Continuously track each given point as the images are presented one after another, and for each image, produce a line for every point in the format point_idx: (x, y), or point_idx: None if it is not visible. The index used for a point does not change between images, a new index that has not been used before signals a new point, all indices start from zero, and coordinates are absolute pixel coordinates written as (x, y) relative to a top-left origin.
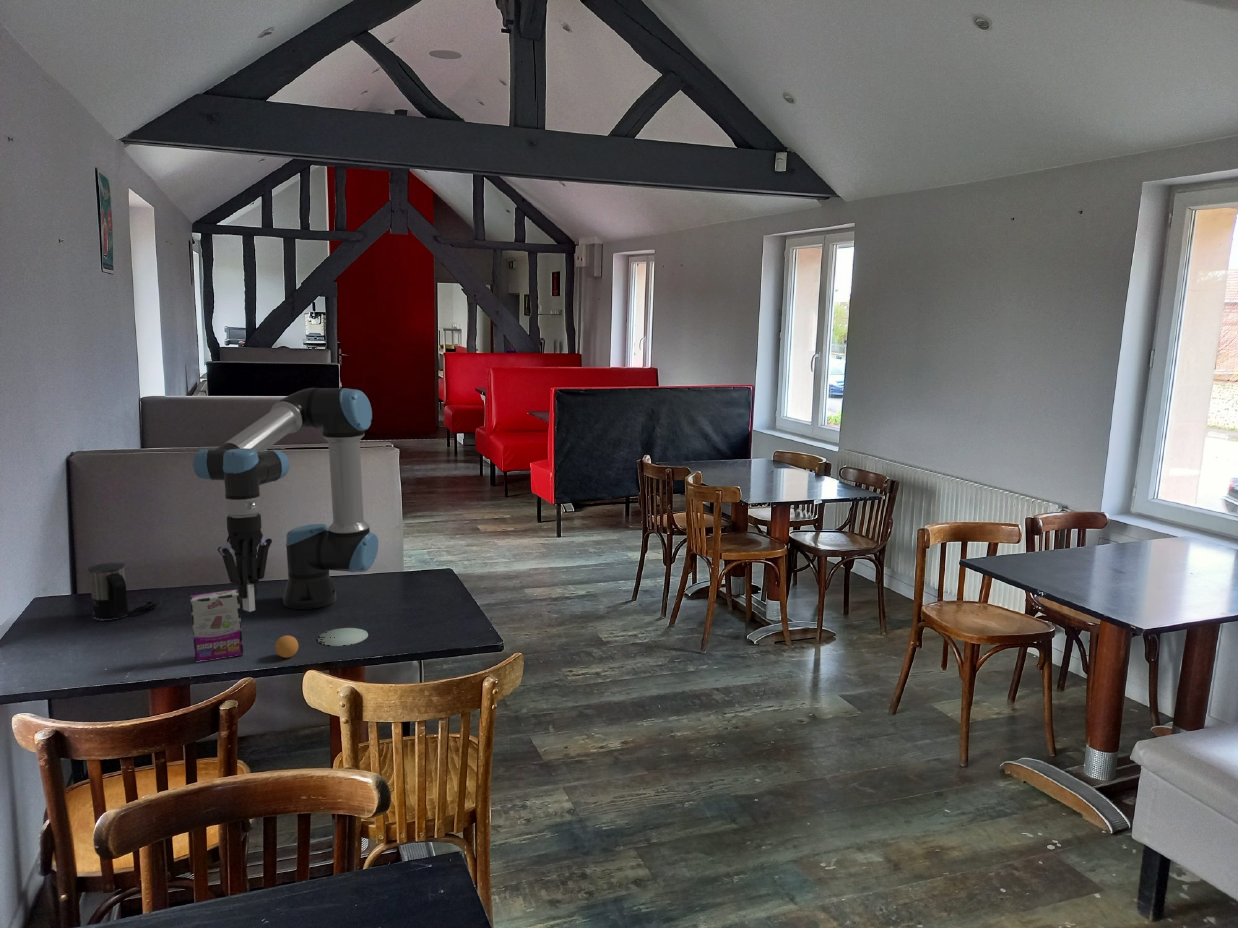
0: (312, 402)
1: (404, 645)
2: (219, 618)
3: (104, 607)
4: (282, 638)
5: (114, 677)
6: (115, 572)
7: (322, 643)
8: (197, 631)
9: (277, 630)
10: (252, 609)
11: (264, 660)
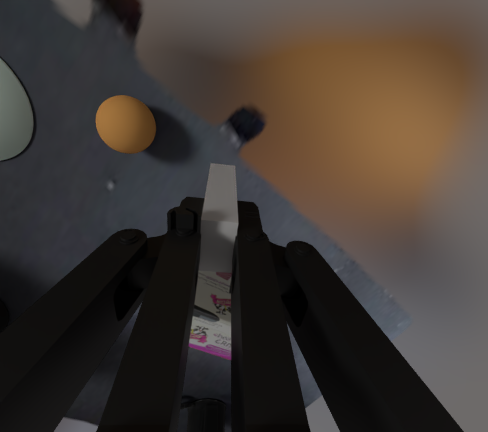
0: None
1: None
2: (221, 272)
3: (219, 421)
4: (131, 132)
5: (344, 279)
6: None
7: (29, 108)
8: None
9: (75, 246)
10: (222, 166)
11: (179, 147)
